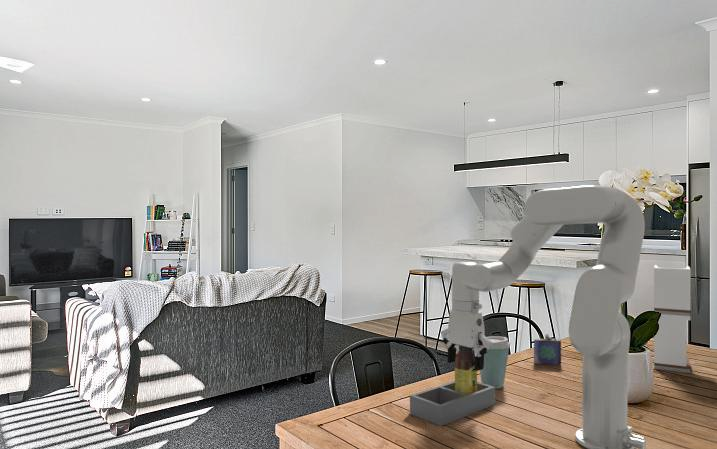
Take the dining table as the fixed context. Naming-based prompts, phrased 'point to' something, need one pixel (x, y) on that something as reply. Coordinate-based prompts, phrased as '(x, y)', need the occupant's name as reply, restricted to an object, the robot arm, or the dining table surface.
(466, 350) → the sauce bottle
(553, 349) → the flask
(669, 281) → the white square tower
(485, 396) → the dock
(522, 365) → the dining table surface
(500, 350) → the disposable coffee cup
